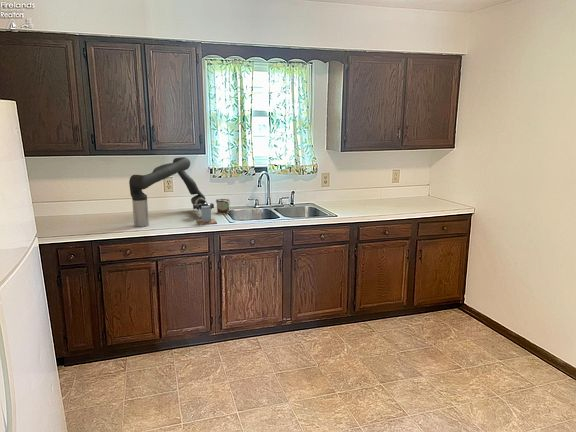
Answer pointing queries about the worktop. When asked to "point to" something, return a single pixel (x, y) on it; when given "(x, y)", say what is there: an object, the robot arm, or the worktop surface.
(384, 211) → the worktop surface
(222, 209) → the food container
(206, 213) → the blue-grey rectangular block
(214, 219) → the post
